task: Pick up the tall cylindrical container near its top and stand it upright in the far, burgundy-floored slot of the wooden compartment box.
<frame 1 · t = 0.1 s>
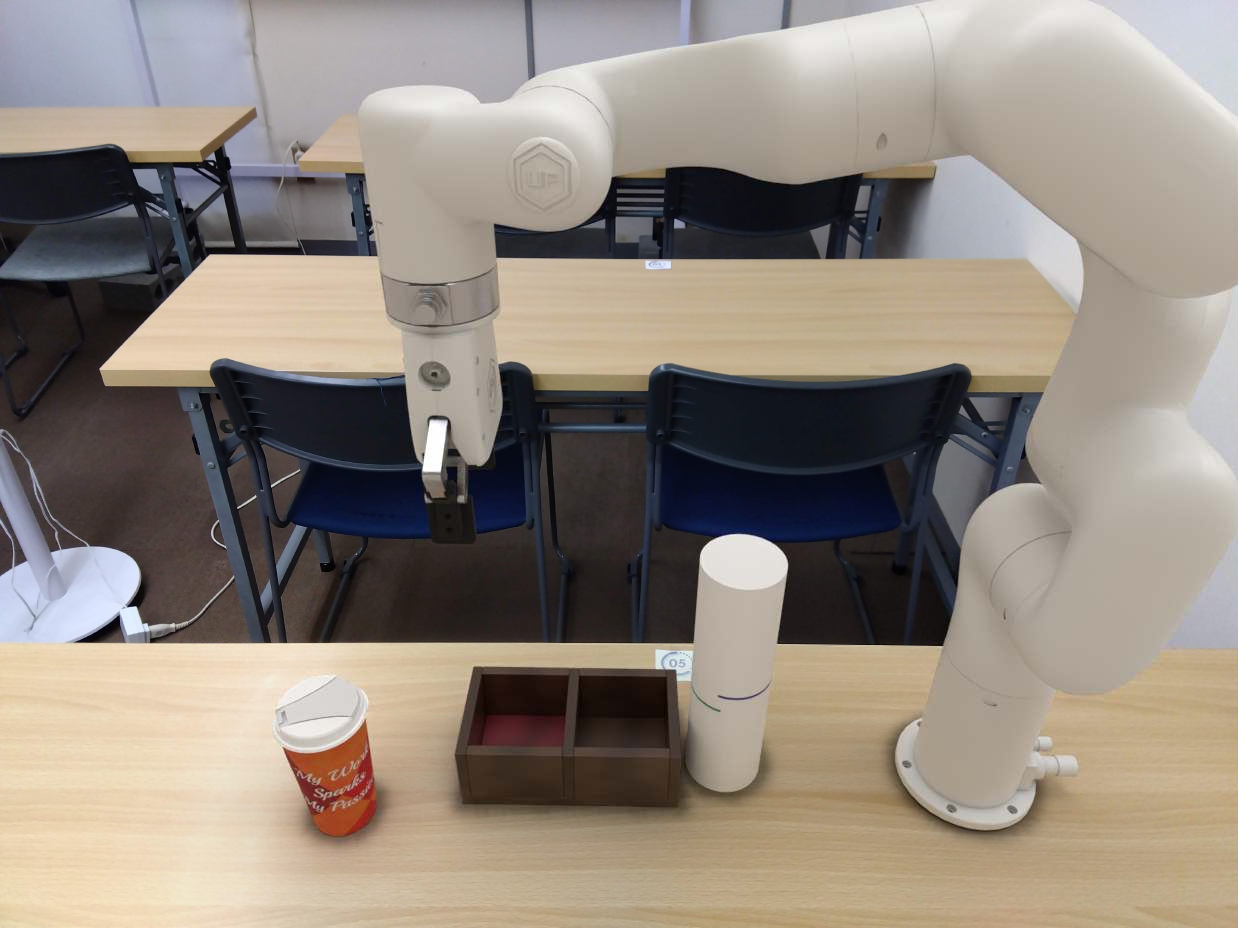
hand: (465, 502, 66), 31 cm above the table, tool pointing down, fingers open, 9 cm apart
wooden compartment box: (573, 758, 83), on the table
paper cup: (346, 810, 79), on the table
cylindrical container: (721, 761, 83), on the table
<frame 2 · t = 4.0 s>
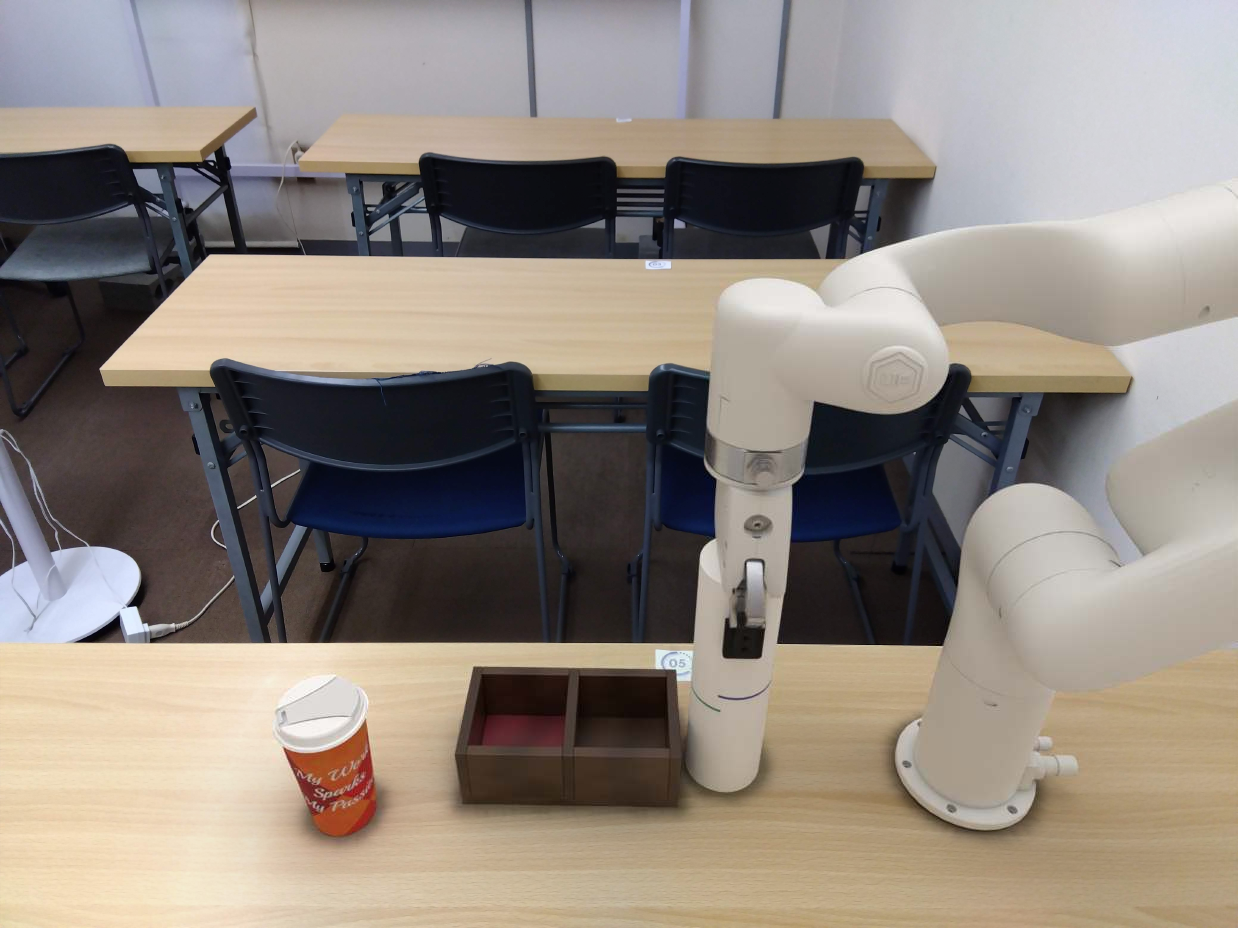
hand: (736, 621, 73), 18 cm above the table, tool pointing down, fingers closed on cylindrical container, 7 cm apart
cylindrical container: (721, 761, 83), on the table, touching gripper
everything else where it was.
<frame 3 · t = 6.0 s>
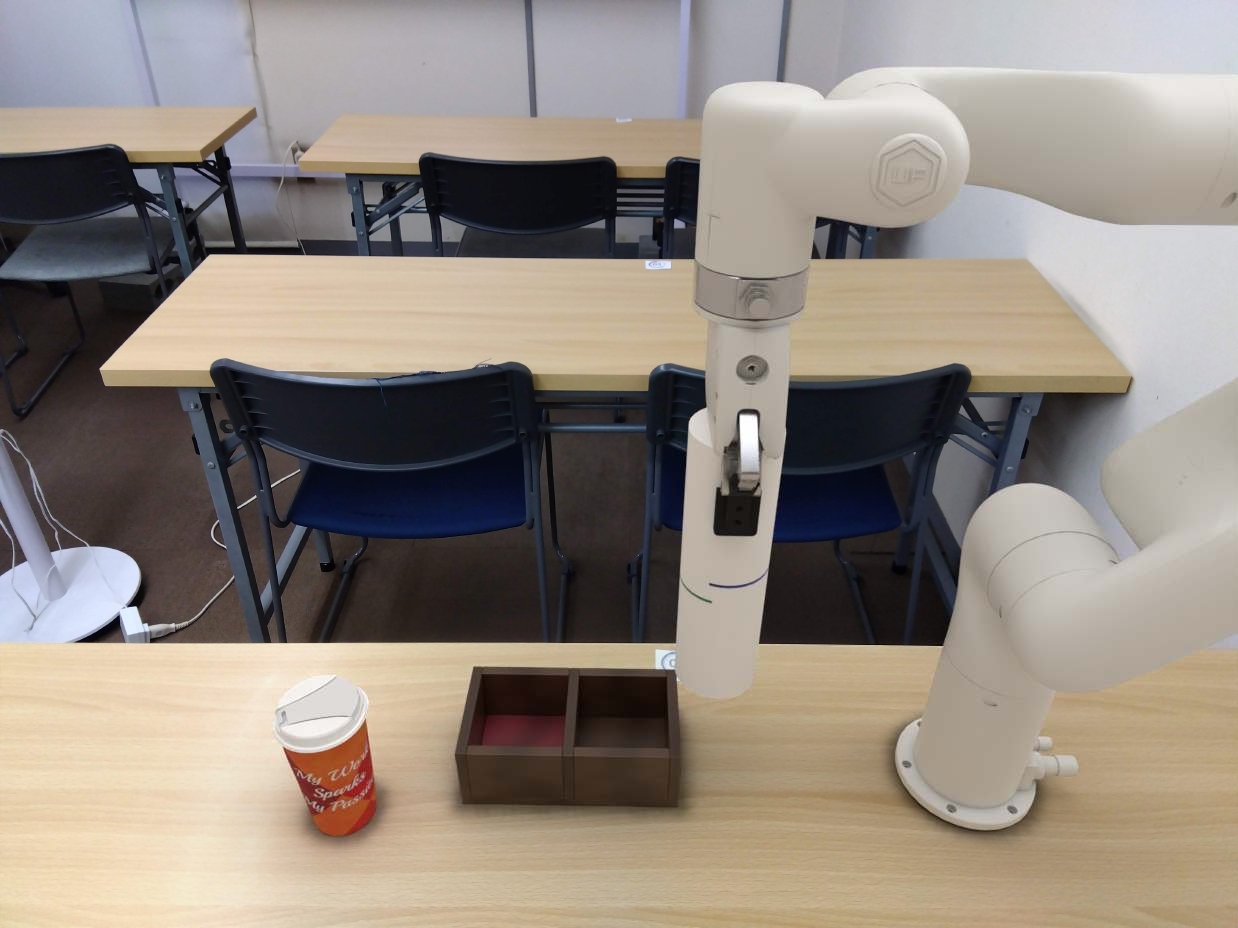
hand: (729, 501, 67), 31 cm above the table, tool pointing down, fingers closed on cylindrical container, 7 cm apart
cylindrical container: (714, 669, 77), point 12 cm above the table, touching gripper
everything else where it was.
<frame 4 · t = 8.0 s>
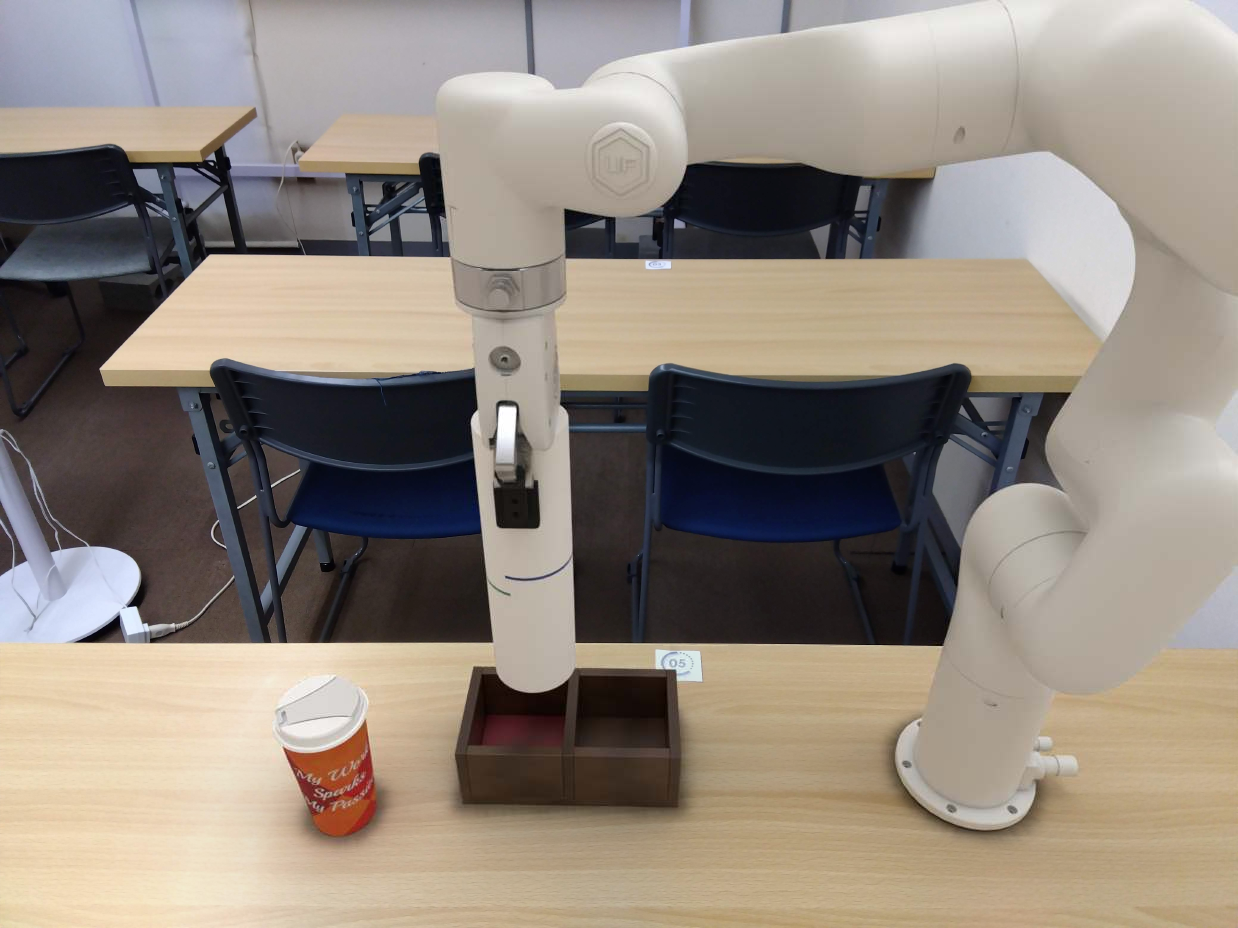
hand: (524, 494, 66), 31 cm above the table, tool pointing down, fingers closed on cylindrical container, 7 cm apart
cylindrical container: (536, 663, 76), point 13 cm above the table, touching gripper
everything else where it was.
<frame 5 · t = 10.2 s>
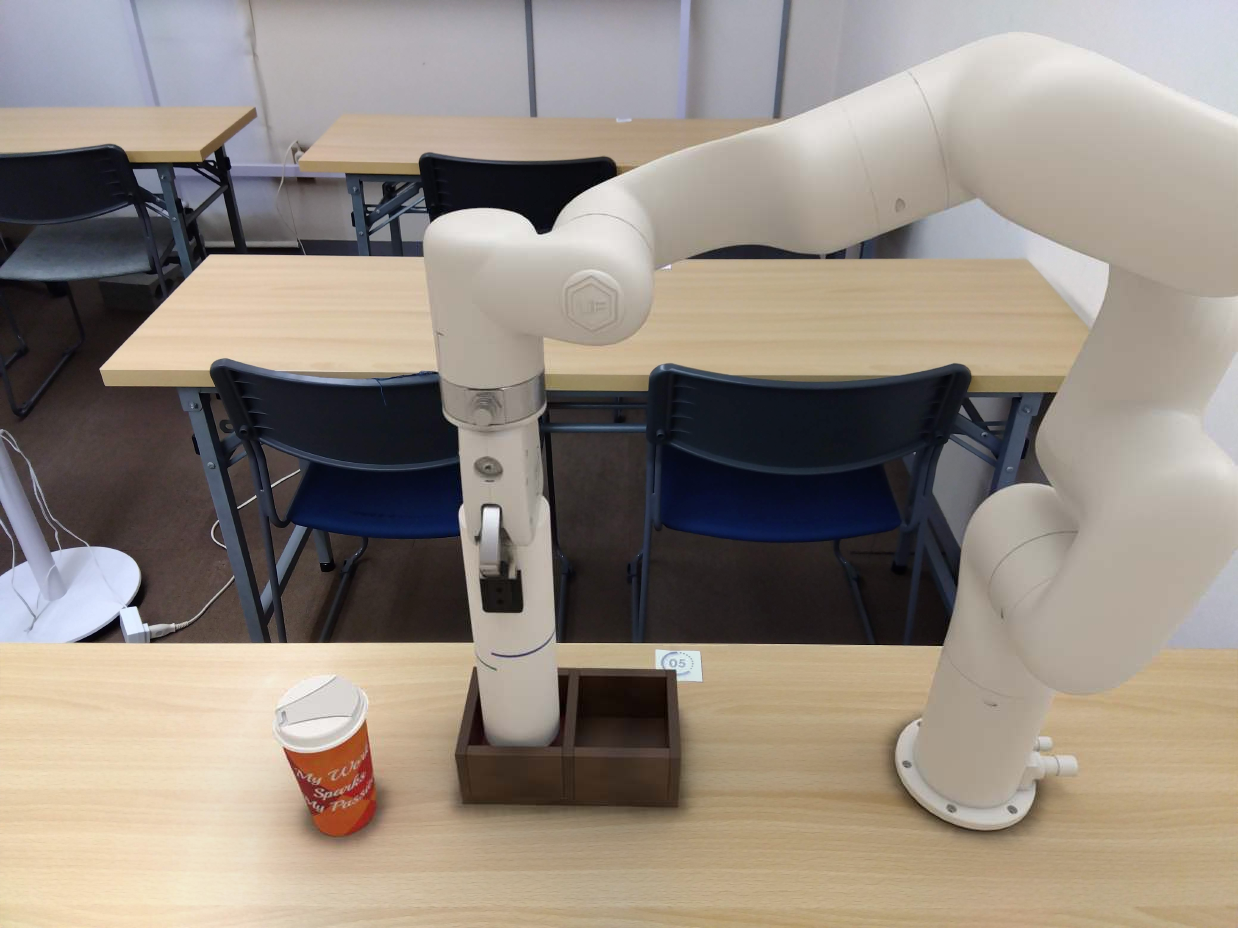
hand: (509, 576, 71), 23 cm above the table, tool pointing down, fingers closed on cylindrical container, 7 cm apart
cylindrical container: (522, 726, 81), point 5 cm above the table, touching gripper
everything else where it was.
when the fingers open (19 cm above the table, at t = 11.9 s): cylindrical container stays where it is, resting on wooden compartment box.
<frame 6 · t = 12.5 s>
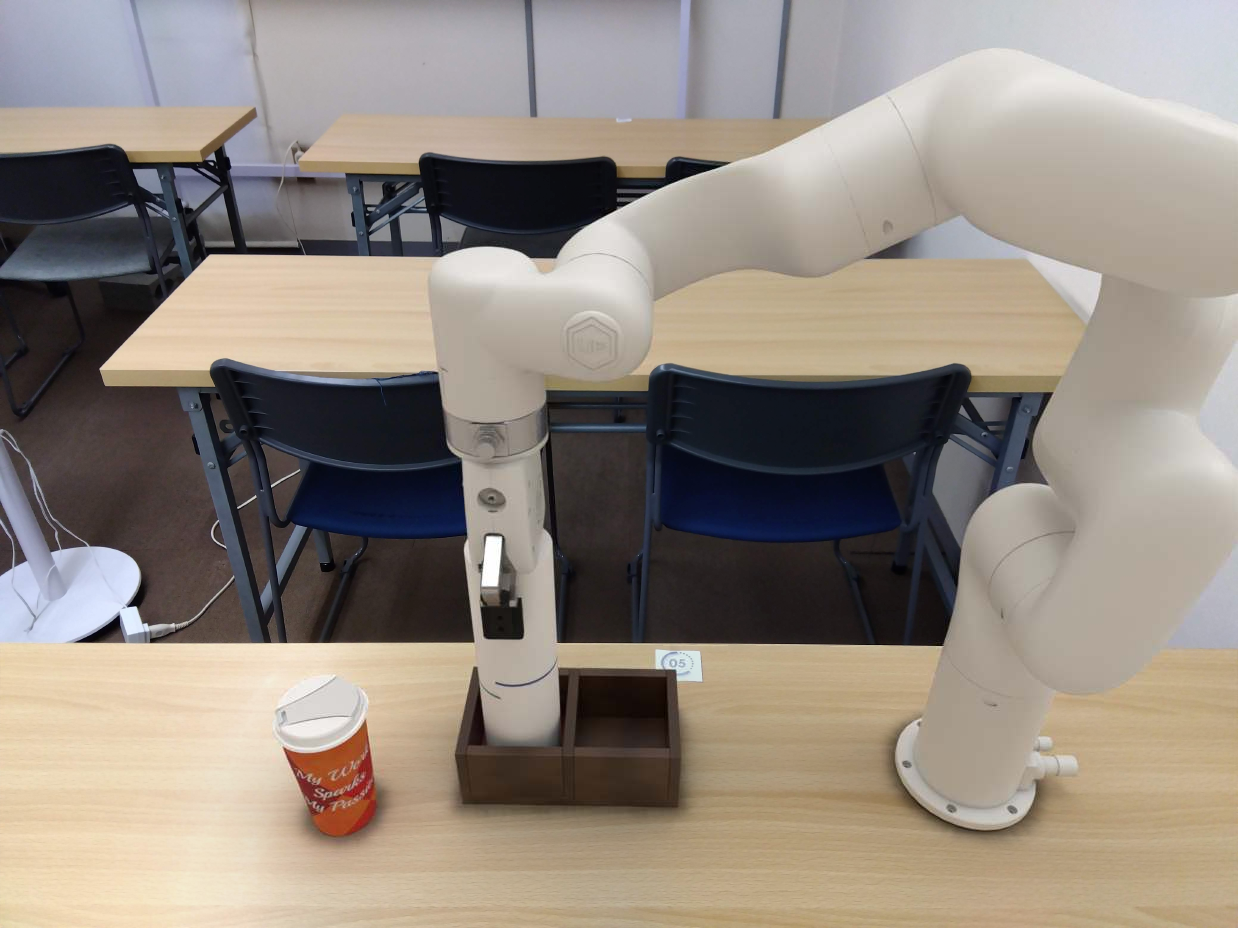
hand: (511, 595, 72), 21 cm above the table, tool pointing down, fingers open, 9 cm apart
cylindrical container: (525, 750, 83), point 1 cm above the table, touching wooden compartment box
everything else where it was.
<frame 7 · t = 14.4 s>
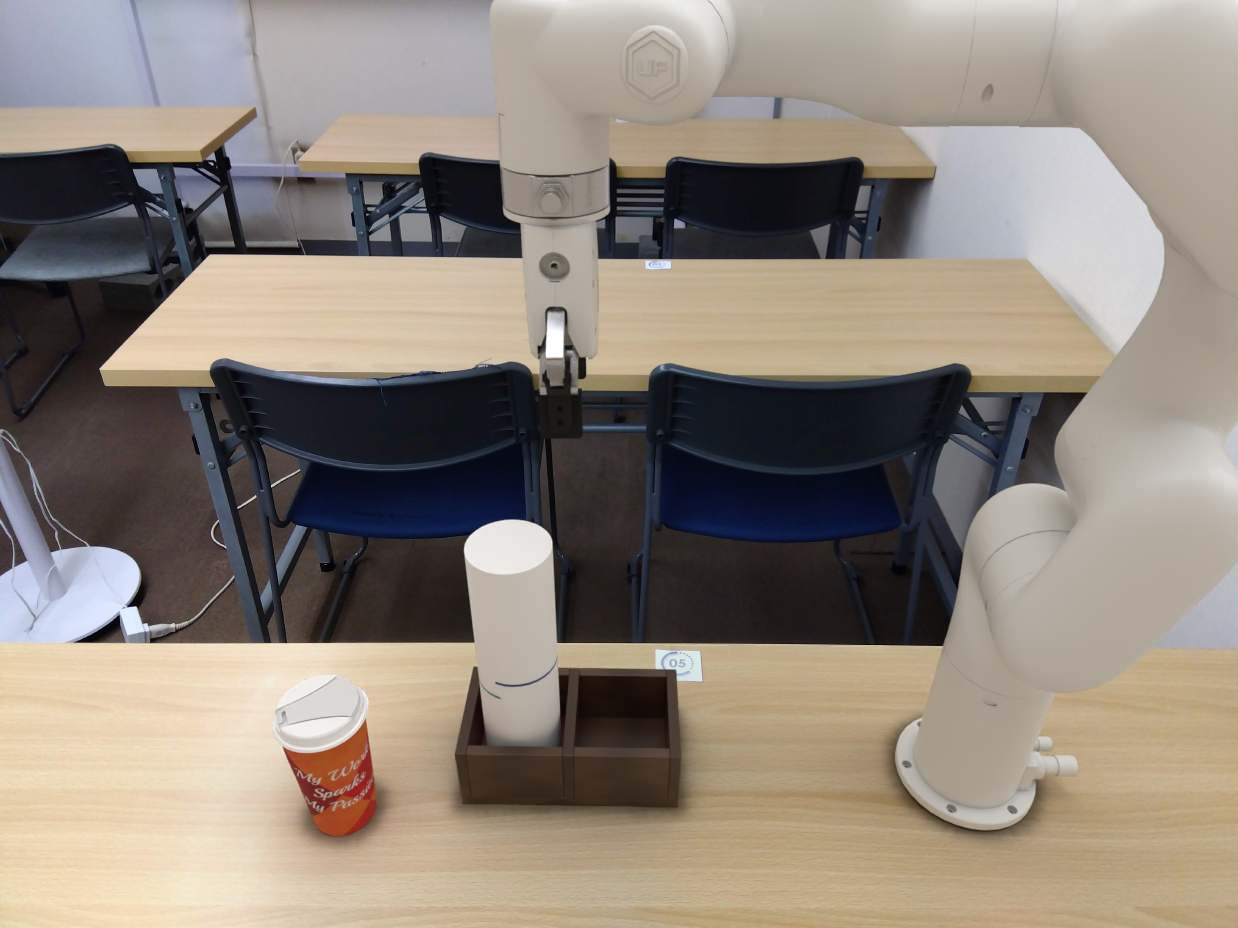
hand: (565, 405, 69), 36 cm above the table, tool pointing down, fingers open, 9 cm apart
nothing on the table moved.
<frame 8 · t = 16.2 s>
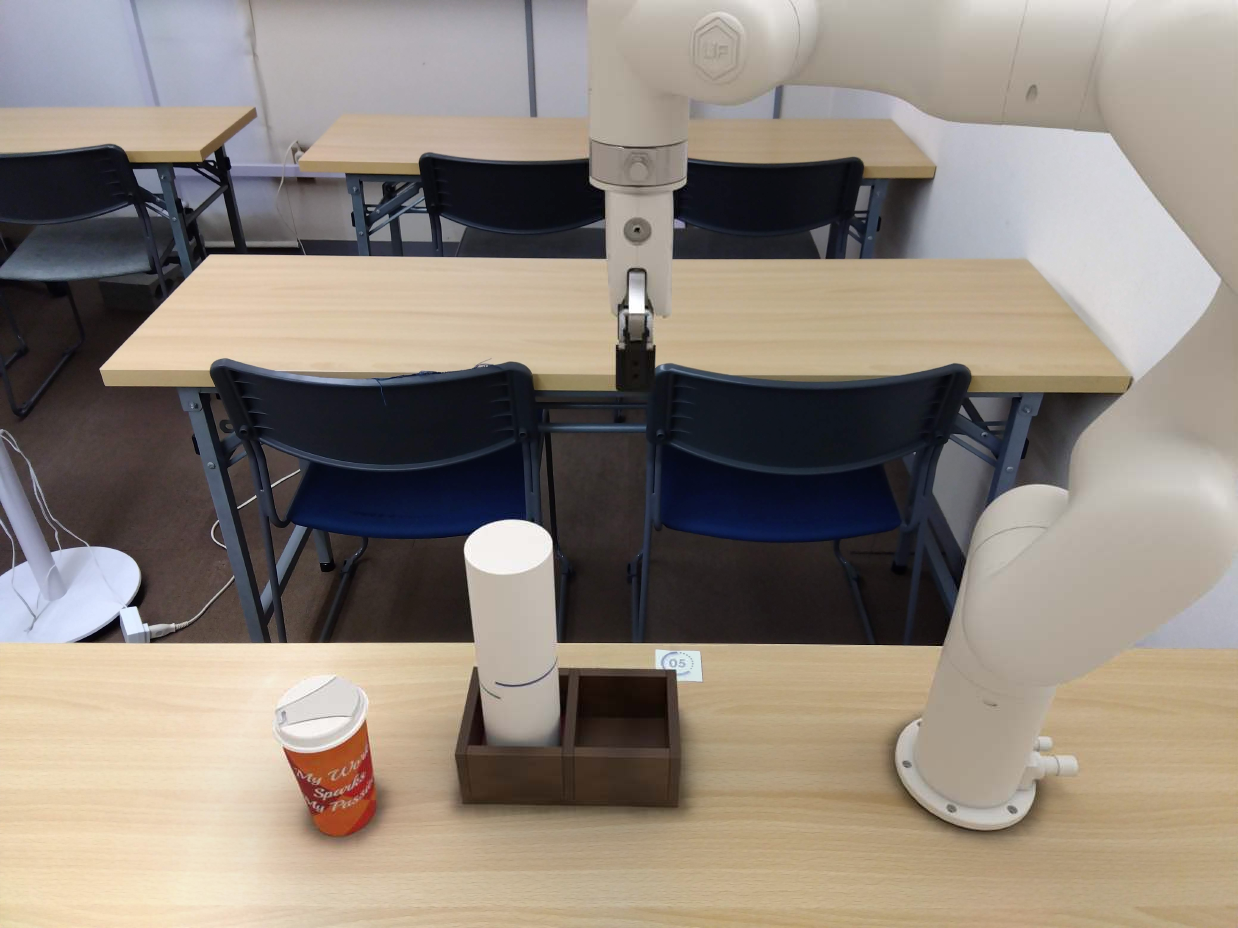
hand: (634, 364, 75), 36 cm above the table, tool pointing down, fingers open, 9 cm apart
nothing on the table moved.
at the end: cylindrical container 0.0 cm from the target spot in the wooden compartment box, point 1.0 cm above the wooden compartment box's base; cylindrical container tilted 0°; the gripper is holding nothing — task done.
